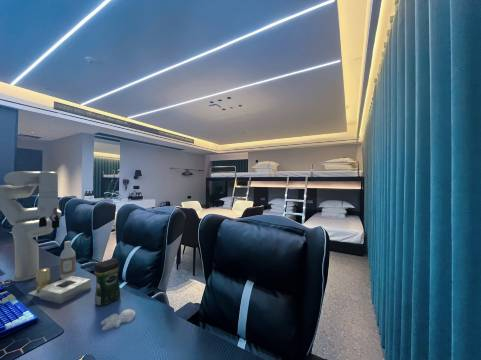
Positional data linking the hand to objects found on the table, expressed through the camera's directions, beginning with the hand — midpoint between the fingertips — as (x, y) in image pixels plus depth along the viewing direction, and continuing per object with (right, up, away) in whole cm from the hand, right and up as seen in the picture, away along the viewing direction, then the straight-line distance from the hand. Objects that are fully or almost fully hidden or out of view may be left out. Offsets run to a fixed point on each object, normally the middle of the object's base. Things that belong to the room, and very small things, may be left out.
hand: (49, 227), depth 112 cm
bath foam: (+3, -30, +9) cm, 32 cm away
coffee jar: (+40, -31, -15) cm, 53 cm away
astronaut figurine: (+53, -31, -28) cm, 68 cm away
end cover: (+3, -30, -7) cm, 31 cm away
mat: (+3, -30, -7) cm, 31 cm away
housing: (+16, -30, -9) cm, 35 cm away
